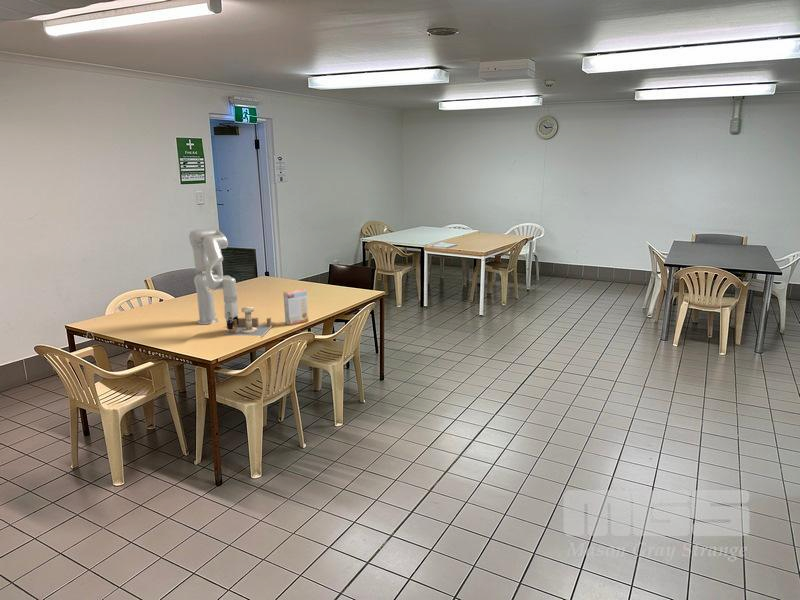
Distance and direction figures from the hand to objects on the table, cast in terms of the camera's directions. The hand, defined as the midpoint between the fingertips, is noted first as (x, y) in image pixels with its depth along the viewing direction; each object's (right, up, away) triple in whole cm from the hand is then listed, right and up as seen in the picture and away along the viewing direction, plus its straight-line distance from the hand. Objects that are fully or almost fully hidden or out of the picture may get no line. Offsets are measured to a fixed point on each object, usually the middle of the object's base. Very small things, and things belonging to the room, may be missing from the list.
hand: (233, 326), depth 321 cm
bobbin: (+9, -3, +2) cm, 10 cm away
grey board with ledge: (+8, -4, +4) cm, 10 cm away
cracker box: (+33, +1, +24) cm, 41 cm away
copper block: (0, -3, +1) cm, 3 cm away
